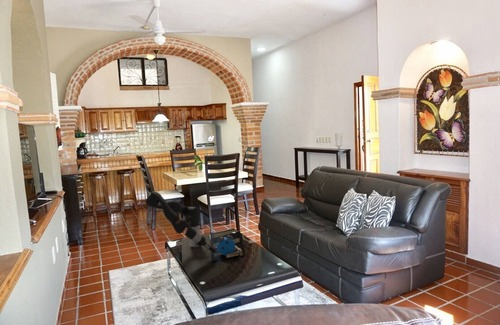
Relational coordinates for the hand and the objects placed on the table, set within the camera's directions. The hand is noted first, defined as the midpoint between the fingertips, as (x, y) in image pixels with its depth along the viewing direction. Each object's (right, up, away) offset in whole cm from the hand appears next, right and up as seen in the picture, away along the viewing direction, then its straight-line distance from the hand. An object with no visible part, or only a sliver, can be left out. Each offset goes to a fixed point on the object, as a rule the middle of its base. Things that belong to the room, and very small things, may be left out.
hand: (214, 251), depth 272 cm
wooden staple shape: (+12, -3, +6) cm, 14 cm away
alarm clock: (+9, -4, +5) cm, 11 cm away
